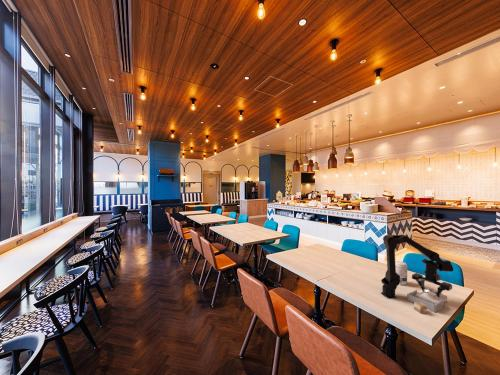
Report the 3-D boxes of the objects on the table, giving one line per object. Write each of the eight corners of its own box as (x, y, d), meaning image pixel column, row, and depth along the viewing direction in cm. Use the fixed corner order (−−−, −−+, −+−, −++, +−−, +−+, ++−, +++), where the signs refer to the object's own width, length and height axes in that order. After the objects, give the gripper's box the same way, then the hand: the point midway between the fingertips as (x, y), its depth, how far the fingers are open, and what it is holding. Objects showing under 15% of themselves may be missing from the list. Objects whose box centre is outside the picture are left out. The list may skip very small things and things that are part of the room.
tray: (439, 306, 122) (439, 301, 122) (415, 297, 133) (415, 291, 133) (447, 301, 128) (447, 295, 128) (423, 292, 139) (423, 287, 139)
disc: (431, 296, 127) (431, 292, 127) (420, 290, 134) (420, 287, 134) (441, 295, 127) (441, 292, 127) (430, 290, 134) (430, 286, 134)
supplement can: (391, 279, 158) (391, 260, 158) (404, 281, 156) (404, 261, 155) (395, 284, 150) (396, 264, 150) (409, 286, 148) (409, 265, 148)
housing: (435, 312, 118) (435, 305, 117) (407, 300, 130) (407, 294, 130) (443, 306, 123) (443, 299, 123) (416, 295, 136) (416, 289, 136)
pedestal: (420, 313, 117) (420, 306, 117) (414, 309, 121) (414, 302, 121) (426, 313, 117) (426, 306, 117) (420, 308, 121) (420, 302, 121)
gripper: (455, 273, 126) (455, 298, 126) (419, 263, 142) (418, 285, 143) (448, 277, 121) (448, 303, 121) (411, 266, 137) (411, 289, 137)
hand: (430, 294), depth 131 cm, fingers closed on disc, 7 cm apart
